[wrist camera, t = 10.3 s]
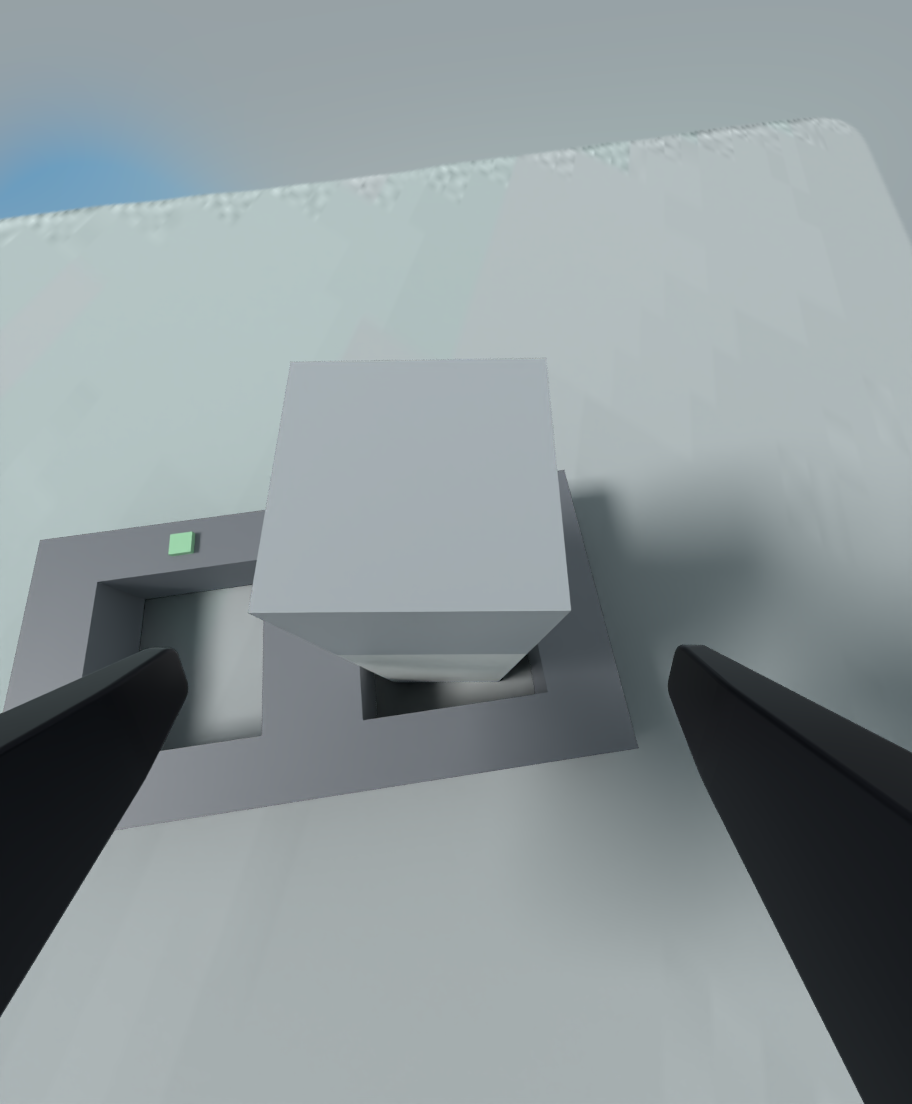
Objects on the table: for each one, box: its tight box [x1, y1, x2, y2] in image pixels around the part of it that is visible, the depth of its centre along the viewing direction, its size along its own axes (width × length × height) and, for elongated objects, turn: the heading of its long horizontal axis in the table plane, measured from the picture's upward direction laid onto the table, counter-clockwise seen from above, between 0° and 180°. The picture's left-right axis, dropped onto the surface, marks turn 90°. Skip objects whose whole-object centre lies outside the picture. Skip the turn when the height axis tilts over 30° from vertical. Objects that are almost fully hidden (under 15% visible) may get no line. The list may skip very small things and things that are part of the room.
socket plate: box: [3, 470, 638, 830], centre depth 16 cm, size 10×20×3 cm, turn 98°
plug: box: [248, 358, 571, 682], centre depth 12 cm, size 5×4×12 cm
